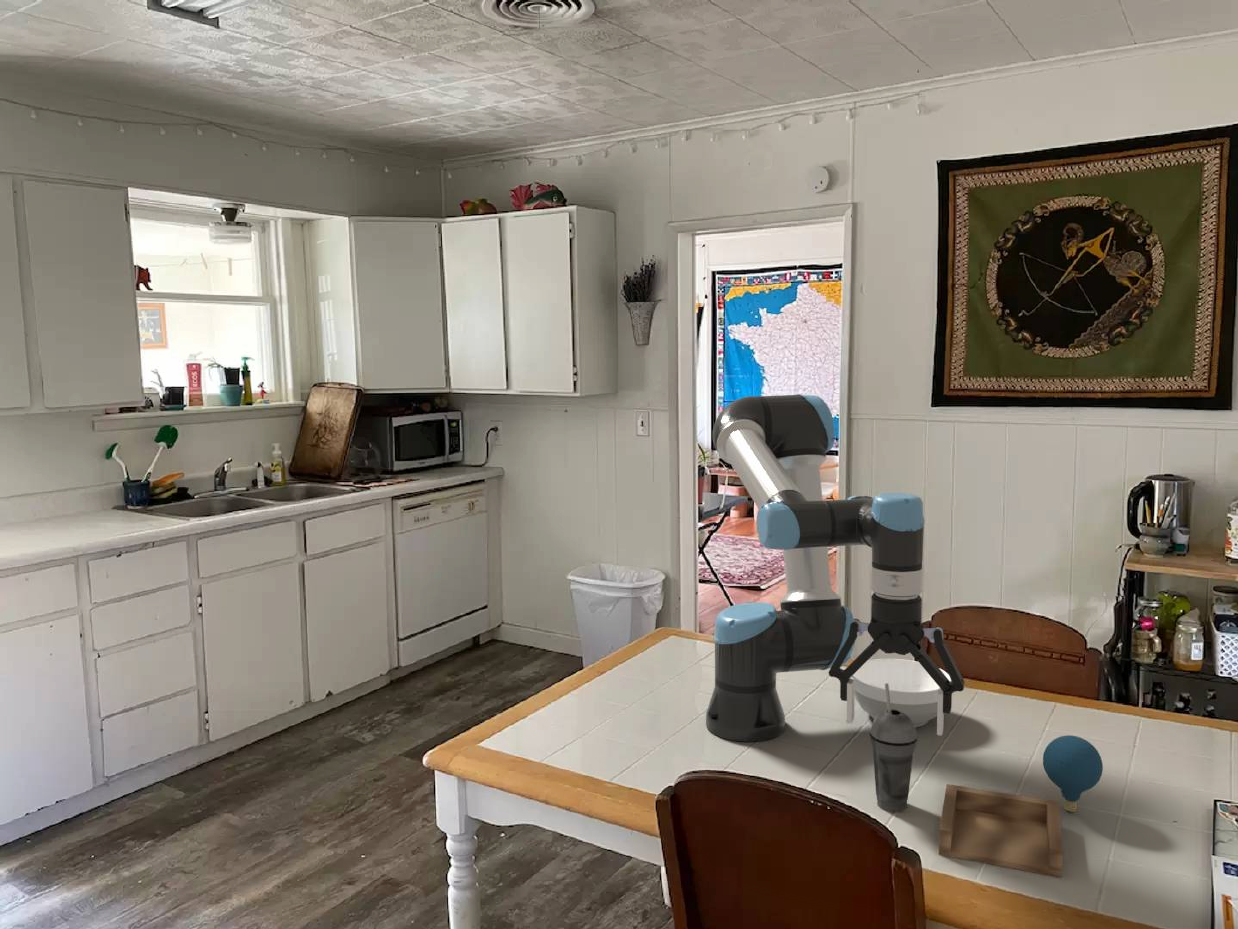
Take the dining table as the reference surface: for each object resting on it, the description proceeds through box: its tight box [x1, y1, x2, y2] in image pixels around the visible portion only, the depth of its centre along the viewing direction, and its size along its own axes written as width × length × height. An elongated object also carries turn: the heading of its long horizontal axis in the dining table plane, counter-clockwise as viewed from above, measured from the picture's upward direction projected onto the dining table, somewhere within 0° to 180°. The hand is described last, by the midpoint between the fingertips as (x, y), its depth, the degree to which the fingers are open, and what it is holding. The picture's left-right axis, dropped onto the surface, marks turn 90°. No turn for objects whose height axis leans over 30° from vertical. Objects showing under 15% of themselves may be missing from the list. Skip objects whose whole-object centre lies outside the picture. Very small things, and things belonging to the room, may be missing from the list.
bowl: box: [850, 658, 952, 728], centre depth 183 cm, size 19×19×9 cm
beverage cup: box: [869, 683, 918, 813], centre depth 148 cm, size 7×7×20 cm
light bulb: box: [1042, 735, 1104, 813], centre depth 145 cm, size 8×8×12 cm
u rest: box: [938, 783, 1064, 878], centre depth 138 cm, size 16×15×4 cm
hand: (894, 726), depth 147 cm, fingers open, 13 cm apart
